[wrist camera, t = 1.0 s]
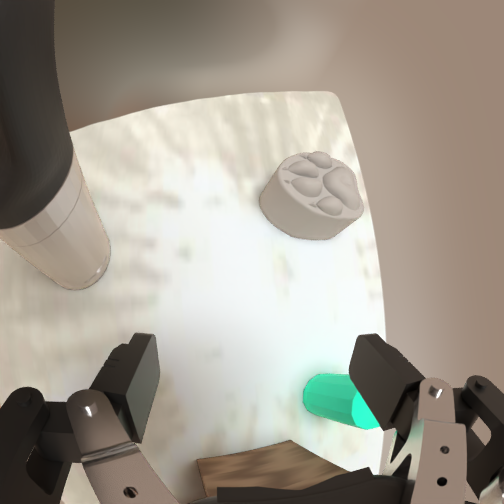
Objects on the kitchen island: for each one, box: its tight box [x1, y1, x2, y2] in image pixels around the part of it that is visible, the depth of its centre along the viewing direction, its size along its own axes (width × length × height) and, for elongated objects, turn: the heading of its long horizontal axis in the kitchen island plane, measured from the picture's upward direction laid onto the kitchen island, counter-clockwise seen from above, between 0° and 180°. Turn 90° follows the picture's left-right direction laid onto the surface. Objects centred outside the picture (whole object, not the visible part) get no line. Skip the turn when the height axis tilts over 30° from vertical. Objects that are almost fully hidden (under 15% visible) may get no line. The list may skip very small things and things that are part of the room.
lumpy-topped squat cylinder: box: [259, 151, 364, 240], centre depth 37 cm, size 10×13×9 cm
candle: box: [303, 374, 380, 430], centre depth 26 cm, size 6×6×12 cm
